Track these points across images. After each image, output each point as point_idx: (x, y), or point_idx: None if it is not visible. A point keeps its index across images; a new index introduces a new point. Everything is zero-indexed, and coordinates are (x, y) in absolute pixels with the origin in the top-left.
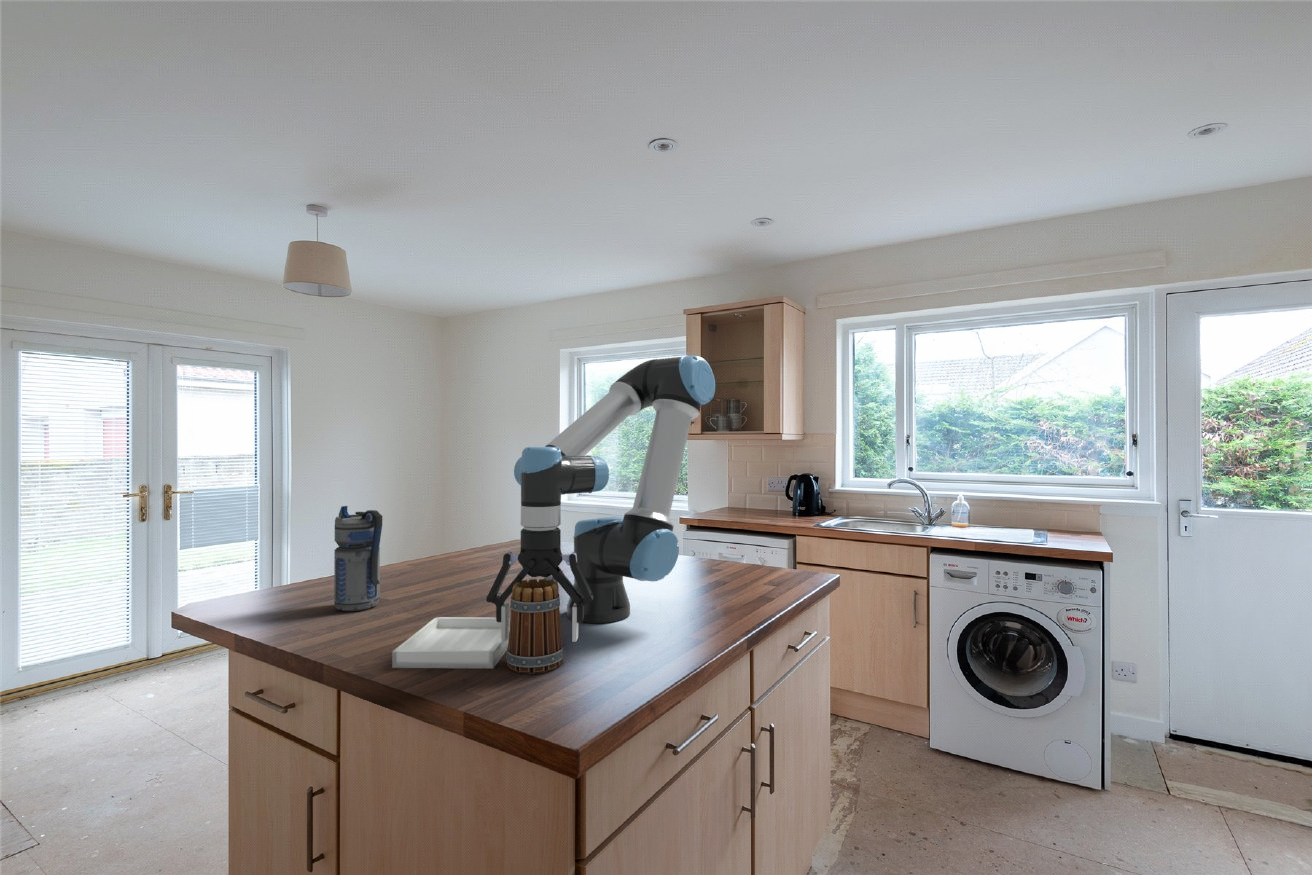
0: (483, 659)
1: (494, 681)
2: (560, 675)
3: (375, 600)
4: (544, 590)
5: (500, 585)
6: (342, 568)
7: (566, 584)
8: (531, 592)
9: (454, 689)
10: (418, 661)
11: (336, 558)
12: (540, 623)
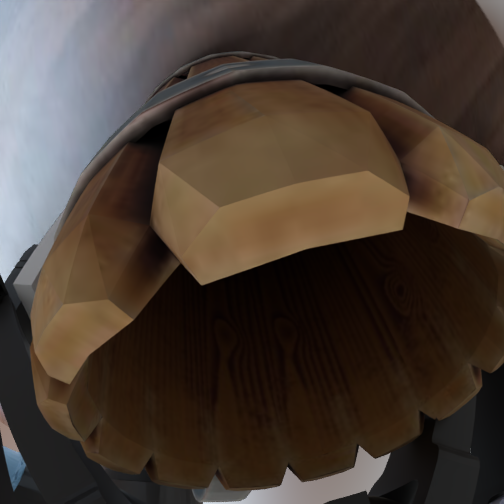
0: None
1: (347, 21)
2: (134, 49)
3: None
4: (121, 235)
5: (486, 379)
6: None
7: (17, 426)
8: (414, 142)
9: (431, 7)
10: (502, 167)
11: None
12: (205, 70)
